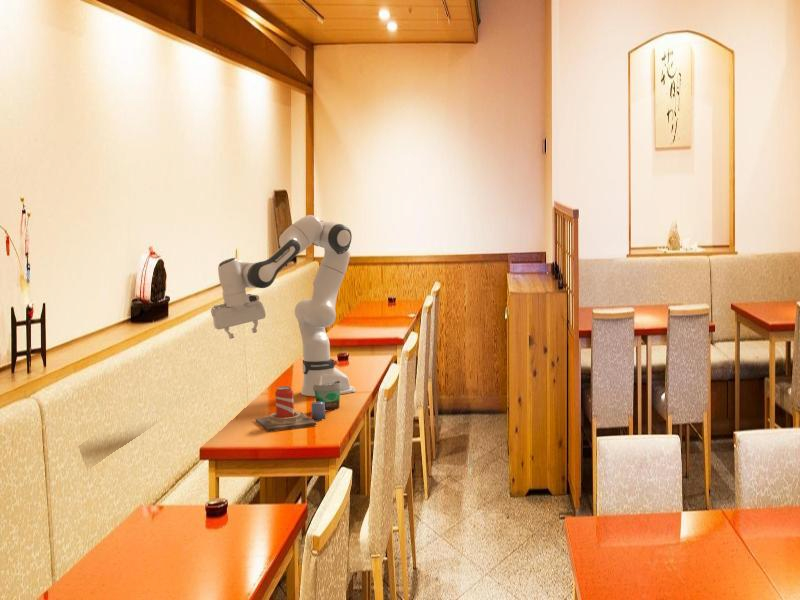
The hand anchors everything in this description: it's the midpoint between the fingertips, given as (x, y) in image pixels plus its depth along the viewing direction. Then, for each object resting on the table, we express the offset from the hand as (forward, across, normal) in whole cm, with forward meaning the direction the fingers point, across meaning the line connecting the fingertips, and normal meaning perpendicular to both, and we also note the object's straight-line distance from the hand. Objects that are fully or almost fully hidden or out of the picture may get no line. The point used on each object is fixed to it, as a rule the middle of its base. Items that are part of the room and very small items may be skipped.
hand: (243, 335), depth 388 cm
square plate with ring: (+32, 0, -29) cm, 43 cm away
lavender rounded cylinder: (+34, +13, -28) cm, 46 cm away
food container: (+34, +23, -16) cm, 45 cm away
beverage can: (+31, +1, -28) cm, 42 cm away
